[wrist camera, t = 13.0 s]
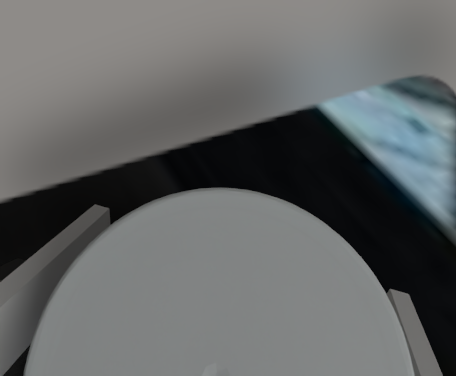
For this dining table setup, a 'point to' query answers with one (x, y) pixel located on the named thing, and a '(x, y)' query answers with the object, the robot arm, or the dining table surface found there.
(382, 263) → the dining table surface
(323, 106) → the dining table surface
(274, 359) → the supplement tub
